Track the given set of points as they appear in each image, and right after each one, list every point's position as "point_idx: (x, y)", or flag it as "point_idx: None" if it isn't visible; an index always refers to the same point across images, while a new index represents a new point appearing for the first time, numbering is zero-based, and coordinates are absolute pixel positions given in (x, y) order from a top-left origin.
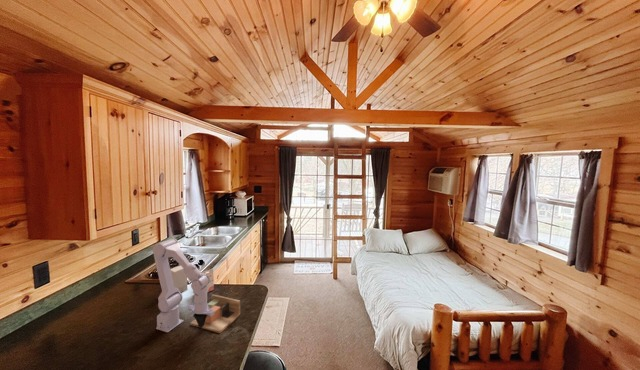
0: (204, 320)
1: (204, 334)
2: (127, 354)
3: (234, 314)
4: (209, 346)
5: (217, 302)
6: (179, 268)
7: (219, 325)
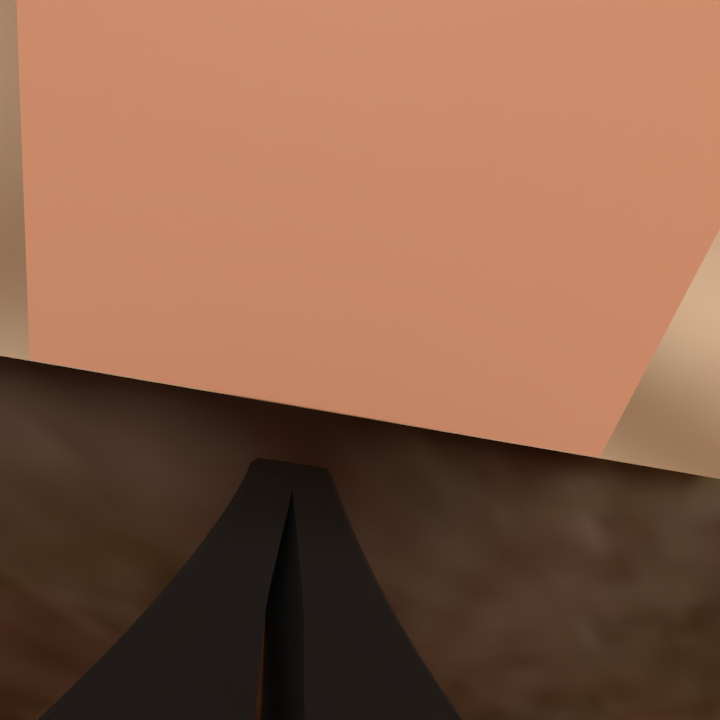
0: (354, 592)
1: (416, 515)
2: None
3: None
4: (610, 681)
5: None
6: None
7: (706, 319)
